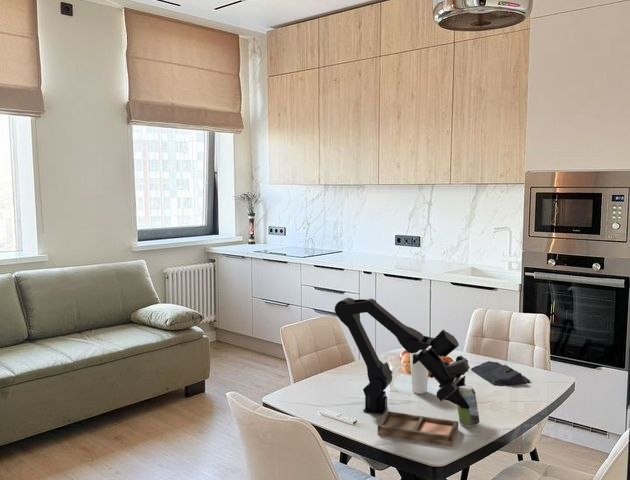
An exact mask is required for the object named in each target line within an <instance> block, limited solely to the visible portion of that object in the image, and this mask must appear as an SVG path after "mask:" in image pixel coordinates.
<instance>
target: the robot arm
mask: <svg viewBox="0 0 630 480" xmlns="http://www.w3.org/2000/svg"><path fill="white" fill-rule="evenodd" d="M334 313H335V314H336V316H337V318H338V319H339V321H340V322H341V323H342V324H344V325H345V326H346V327H347V329H348V330H349V333H350V334H351V337H352V339H353V341H354V343H355V345H356V346H357V350H358V352H359V353H360V356H361V358H362V359H363V361H364V364H365V367H366V372H367V379H368V381H369V382H368V383H367V385H365V387H363V388H362V391H363V394H364V398H365V399H364V400H365V401H364V402H365V404H364V405H365V406H364V409H363V412H364V413H371V414H378V415H383V414H384V413H385V412H386V411H387V409H388V396H387V392H386V391H385V390H386V389H387V388H388V387H389V385H390V384H391V383H392V381H393V375H392V374H393V371H392V370H391V369H390V366H389V363H388V362H387V361H386V362H384V363H383V362H382V361H381V360H380V359H379V357H378V353H376V351H375V348H374V347H373V345H372V342H371V340H370V338H369V336H368V334H367V332H366V330H365V327H364V325H363V324H362V321H361V315H360V314H365V313H367V314H368V315H369V316H371V317H372V318H373V319H375V321H377V322H378V323H379V324H380V325H381V326H383V327H384V328H385V329H387V330H388V331H389V332H390V333H391V334H393V335H394V337H396V339H397V341H398V343H399V345H400V346H401V347H402V348H403V349H404V350H405V351H406V352H407V353H409V354H410V353H416V352H418V351H419V350H422V351H421V352H420V353H419V354H414V355H413V364H415V363H417V362H418V361H420V363H421V364H422V365H423V366H424V367H425V368H426V369H427V370H428V374H430V375H429V377H430V378H431V379H433V378H434V380H436V382H437V383H438V384H439V385H438V387H439V389H438V390H437V391H436V398H437V399H438V400H439V401H440V402H442V401H446V402H450V403H452V404H454V405H459V406H461V407H463V408H465V409H469V408H470V406H469V405H468V403H467V402H466V400H465V399H464V397H463V396H462V395H461V393H460V386H467V385H466V375H465V374H466V373H467V372H469V369H470V370H471V367H470V365H469V360H468V359H467V358H466V357H463V355H458V356H456V358H455V361H453V362H451V363H450V362H449V361H447V360H443V359H442V357H443V358H446V357H447V356H448V355H450V354H452V352H454V351H455V350H456V349H457V348H458V347H459V342H458V339H457V338H456V337H455V336H454V334H451V333H450V332H447V331H446V330H445V329H442V330H440V332H439V333H438V334H437V335H436V336H435V337H431V336H427V335H424V334H423V333H421V332H420V331H419V330H417V329H415V328H413V327H410V326H408V325H406V324H405V323H402V322H401V321H400V320H399V319H398V318H397V317H395V316H394V315H393V314H391V313H390V312H389V311H388V310H387V309H386V308H384V307H383V306H382V305H380V304H379V303H378V302H377V301H376V300H375V299H374V298H367V299H365V298H364V299H361V298H360V299H354V298H351V297H345V298H343V299H342V300H340V301H338V302H336V304H335V305H334ZM428 348H429V349H428Z"/></svg>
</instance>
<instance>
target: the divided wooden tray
mask: <svg viewBox="0 0 630 480" xmlns="http://www.w3.org/2000/svg"><path fill="white" fill-rule="evenodd" d="M458 431H459V421H456V420H451V419H443V418H438V417H437V418H436V417H429V416H423V415H422V416H421V415H415V414H409V413H403V412H394V411H387V412H386V413H385V415H384V417H383V418H382V419H381V420H380V422H379V423H378V425H377V435H378V436H383V435H384V436H385V437H391V438H395V439H396V438H397V439H402V440H403V439H404V440H408V441H409V440H410V441H413V442H414V441H415V442H422V443H425V444H427V443H428V444H434V445H439V446H445V447H446V446H447V447H453V444H454V441H455V440H456V437H457V434H458Z"/></svg>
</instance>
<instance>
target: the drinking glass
mask: <svg viewBox="0 0 630 480" xmlns="http://www.w3.org/2000/svg"><path fill="white" fill-rule="evenodd" d="M421 351H422V350H419V351H418V352H416V353H409V354H410V356H409V360H410V361H409V363H410V377H411V392H413V393H414V394H418V395H422V394H423V395H424V394H426V393H427V392H428V381H429V380H428V379H429V371H428V370H427V369H426V368H425V367H424V366H423V365H422V364H421V363H420V361H418V362H417V363H415V364H413V355H414V354H419V353H420V352H421Z"/></svg>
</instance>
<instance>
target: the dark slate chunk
mask: <svg viewBox="0 0 630 480" xmlns="http://www.w3.org/2000/svg"><path fill="white" fill-rule="evenodd" d="M470 371H471V372H473V373H475V374H476V375H477V376H479V377H480V378H482V379H483V380H484V381H486V382H488V383H489V384H491V385H493V386H498V387H507V386H511V387H513V386H521V385H525V384H526V385H527V384H529V383H531V380H530V379H529V378H528V377H526V376H525V375H522V373H521V372H519V371H517V370H515V369H513V368H512V367H510V366H509V365H507V364H502V363H500V362H497V361H491V360H488V361H485V362H482V363H481V364H479V365H475V366H473V367H470Z"/></svg>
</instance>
